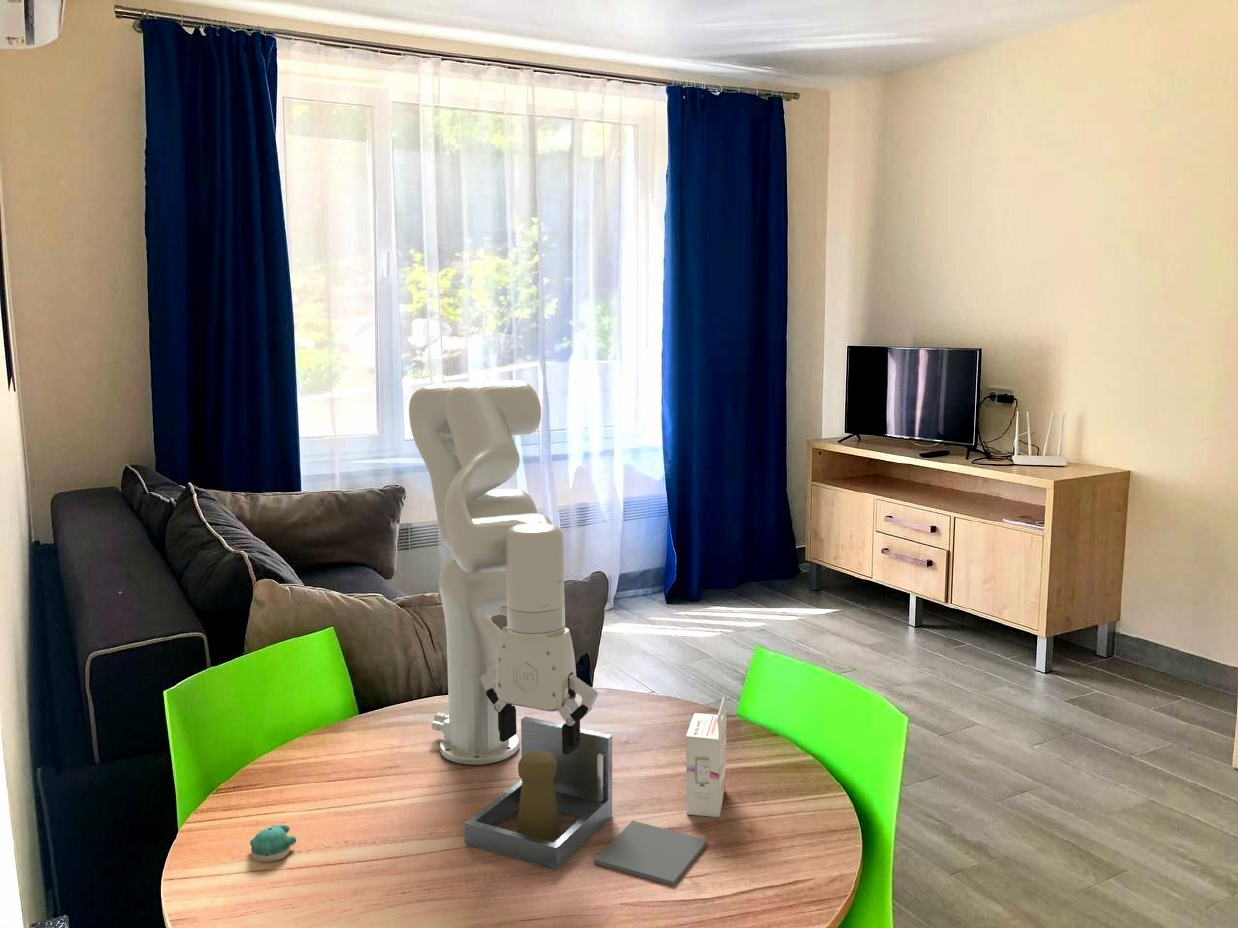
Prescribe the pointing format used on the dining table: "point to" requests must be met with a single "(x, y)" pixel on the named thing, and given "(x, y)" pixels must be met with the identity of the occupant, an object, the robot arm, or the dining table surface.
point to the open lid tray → (576, 791)
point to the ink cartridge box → (706, 763)
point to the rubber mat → (651, 852)
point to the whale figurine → (272, 843)
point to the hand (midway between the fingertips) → (538, 744)
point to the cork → (538, 796)
